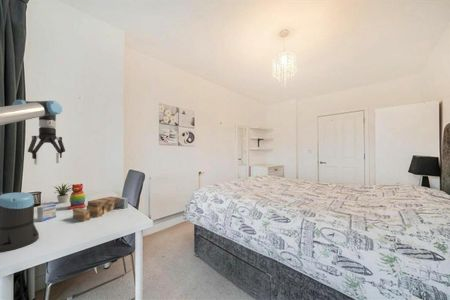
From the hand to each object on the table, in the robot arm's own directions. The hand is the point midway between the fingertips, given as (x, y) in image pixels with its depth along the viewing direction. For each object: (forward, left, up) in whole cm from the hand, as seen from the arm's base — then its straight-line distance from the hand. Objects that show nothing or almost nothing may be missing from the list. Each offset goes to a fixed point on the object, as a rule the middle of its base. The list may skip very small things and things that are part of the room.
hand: (47, 163), depth 115 cm
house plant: (+25, +39, -36) cm, 59 cm away
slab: (+26, -14, -30) cm, 42 cm away
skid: (+27, -13, -36) cm, 47 cm away
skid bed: (+15, -14, -36) cm, 41 cm away
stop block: (+38, -14, -36) cm, 54 cm away
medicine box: (+2, +6, -36) cm, 37 cm away
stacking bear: (+24, +15, -36) cm, 46 cm away
